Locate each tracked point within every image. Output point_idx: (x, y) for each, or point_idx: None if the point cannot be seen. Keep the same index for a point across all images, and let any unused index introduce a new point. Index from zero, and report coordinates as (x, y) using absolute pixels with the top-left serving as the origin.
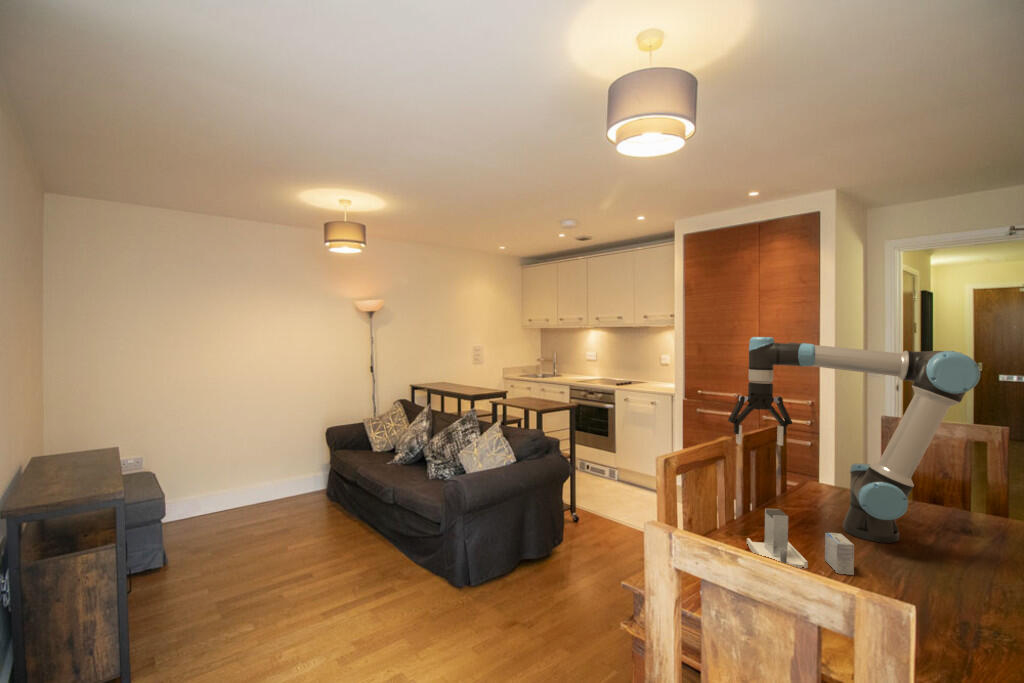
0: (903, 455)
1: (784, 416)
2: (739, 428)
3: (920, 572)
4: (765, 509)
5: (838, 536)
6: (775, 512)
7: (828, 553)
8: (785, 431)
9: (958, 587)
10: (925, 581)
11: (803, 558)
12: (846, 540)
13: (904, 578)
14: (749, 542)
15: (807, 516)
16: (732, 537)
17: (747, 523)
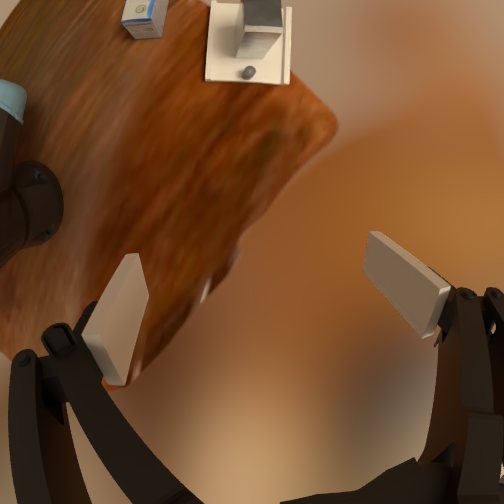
0: None
1: (49, 423)
2: (436, 275)
3: (38, 55)
4: (281, 32)
5: (137, 4)
6: (266, 7)
7: (161, 17)
8: (81, 320)
9: (27, 29)
10: (52, 26)
11: (212, 10)
12: None
13: (72, 22)
14: (289, 68)
15: (106, 269)
16: (301, 118)
17: (241, 202)
